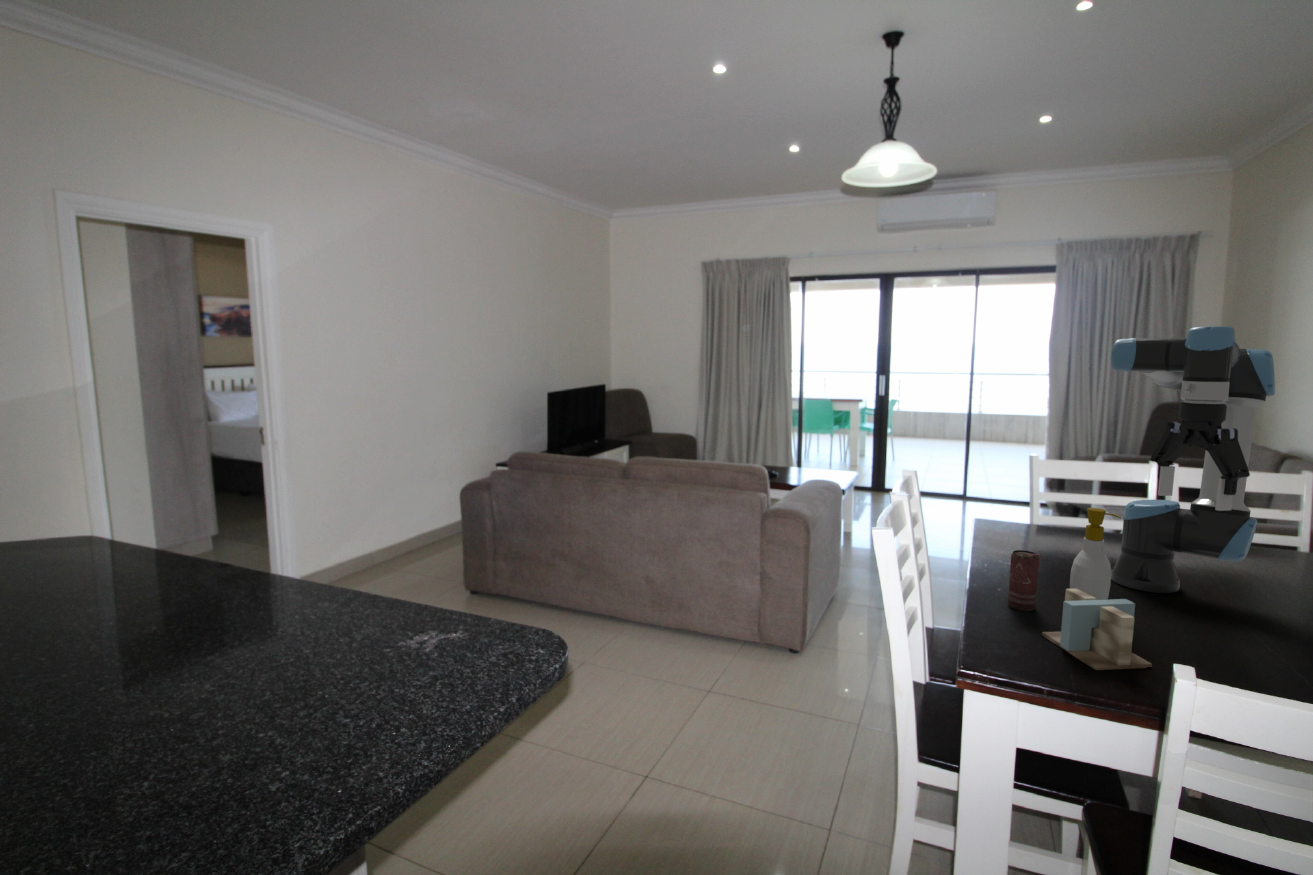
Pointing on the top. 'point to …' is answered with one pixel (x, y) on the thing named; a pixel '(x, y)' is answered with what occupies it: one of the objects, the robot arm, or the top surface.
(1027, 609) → the can
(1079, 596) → the birch jig
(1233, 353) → the robot arm
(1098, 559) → the soap bottle
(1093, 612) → the pale blue tunnel block
